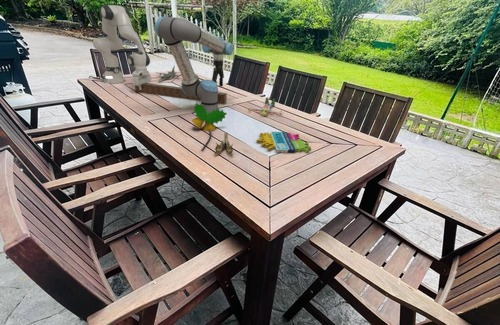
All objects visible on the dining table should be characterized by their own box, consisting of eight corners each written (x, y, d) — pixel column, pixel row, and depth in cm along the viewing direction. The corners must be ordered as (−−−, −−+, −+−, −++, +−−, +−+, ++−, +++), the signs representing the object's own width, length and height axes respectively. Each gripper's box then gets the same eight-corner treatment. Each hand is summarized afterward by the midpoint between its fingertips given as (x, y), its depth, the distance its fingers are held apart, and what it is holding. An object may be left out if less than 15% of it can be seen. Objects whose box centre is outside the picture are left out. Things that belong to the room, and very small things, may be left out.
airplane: (150, 75, 286) (149, 65, 281) (179, 74, 299) (178, 64, 294) (157, 84, 258) (155, 73, 253) (188, 82, 271) (187, 72, 266)
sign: (313, 150, 142) (258, 149, 139) (312, 153, 143) (258, 152, 140) (301, 132, 164) (254, 130, 161) (301, 134, 165) (254, 133, 162)
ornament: (218, 133, 171) (224, 110, 169) (221, 134, 163) (227, 111, 161) (186, 125, 162) (192, 101, 160) (189, 126, 155) (195, 101, 153)
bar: (226, 102, 216) (226, 93, 212) (224, 104, 211) (224, 94, 207) (139, 90, 231) (138, 81, 227) (135, 91, 226) (134, 82, 223)
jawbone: (234, 135, 144) (233, 125, 135) (233, 160, 138) (232, 151, 129) (217, 135, 144) (216, 125, 135) (216, 160, 138) (214, 150, 129)
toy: (287, 99, 210) (283, 109, 184) (286, 108, 213) (282, 119, 187) (254, 95, 215) (245, 104, 189) (253, 104, 218) (244, 114, 192)
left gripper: (145, 70, 229) (147, 85, 236) (130, 73, 212) (133, 91, 218) (151, 70, 228) (153, 86, 235) (137, 74, 210) (139, 91, 217)
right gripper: (219, 57, 210) (219, 84, 220) (207, 61, 189) (207, 90, 199) (228, 58, 209) (227, 85, 219) (217, 62, 187) (216, 92, 198)
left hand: (143, 88), depth 226 cm, fingers open, 6 cm apart
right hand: (218, 88), depth 209 cm, fingers open, 13 cm apart
